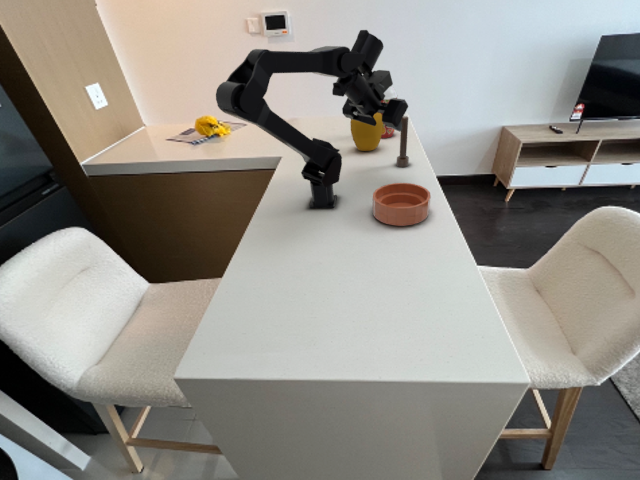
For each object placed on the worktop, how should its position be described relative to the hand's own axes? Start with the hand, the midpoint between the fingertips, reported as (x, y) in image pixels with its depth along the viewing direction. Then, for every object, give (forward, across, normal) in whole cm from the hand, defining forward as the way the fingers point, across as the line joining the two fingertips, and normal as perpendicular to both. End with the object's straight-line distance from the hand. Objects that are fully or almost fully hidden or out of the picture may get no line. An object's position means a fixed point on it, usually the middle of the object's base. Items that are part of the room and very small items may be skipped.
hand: (387, 127), depth 94 cm
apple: (+17, +19, +2) cm, 26 cm away
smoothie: (+28, +24, -9) cm, 38 cm away
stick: (+14, 0, +4) cm, 15 cm away
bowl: (-3, -19, +21) cm, 29 cm away
